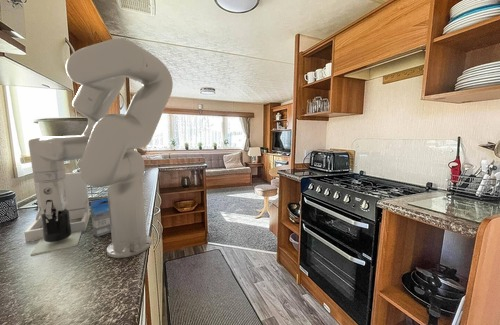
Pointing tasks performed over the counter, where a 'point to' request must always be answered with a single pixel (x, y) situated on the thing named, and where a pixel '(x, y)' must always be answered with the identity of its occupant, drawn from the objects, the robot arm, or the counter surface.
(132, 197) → the robot arm
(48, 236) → the supplement bottle
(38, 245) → the mat
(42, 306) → the counter surface
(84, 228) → the white open box
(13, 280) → the counter surface
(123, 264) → the counter surface
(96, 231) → the label tape box
